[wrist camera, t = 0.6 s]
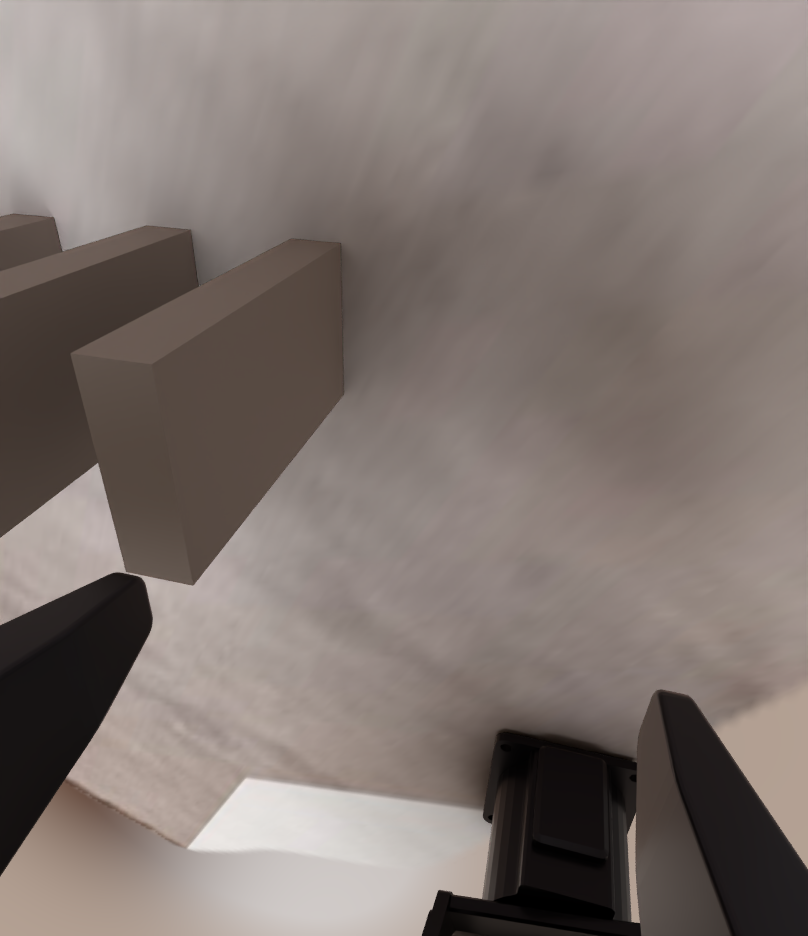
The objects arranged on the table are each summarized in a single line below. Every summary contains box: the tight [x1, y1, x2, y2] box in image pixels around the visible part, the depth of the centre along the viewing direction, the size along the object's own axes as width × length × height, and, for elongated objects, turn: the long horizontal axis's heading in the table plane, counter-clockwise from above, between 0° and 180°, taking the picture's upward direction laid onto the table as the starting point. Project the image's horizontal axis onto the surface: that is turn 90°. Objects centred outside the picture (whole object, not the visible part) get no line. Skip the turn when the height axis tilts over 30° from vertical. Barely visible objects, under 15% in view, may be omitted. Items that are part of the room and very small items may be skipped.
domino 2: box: [70, 239, 344, 585], centre depth 16 cm, size 2×5×10 cm, turn 178°
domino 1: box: [0, 226, 198, 537], centre depth 17 cm, size 2×5×10 cm, turn 179°
